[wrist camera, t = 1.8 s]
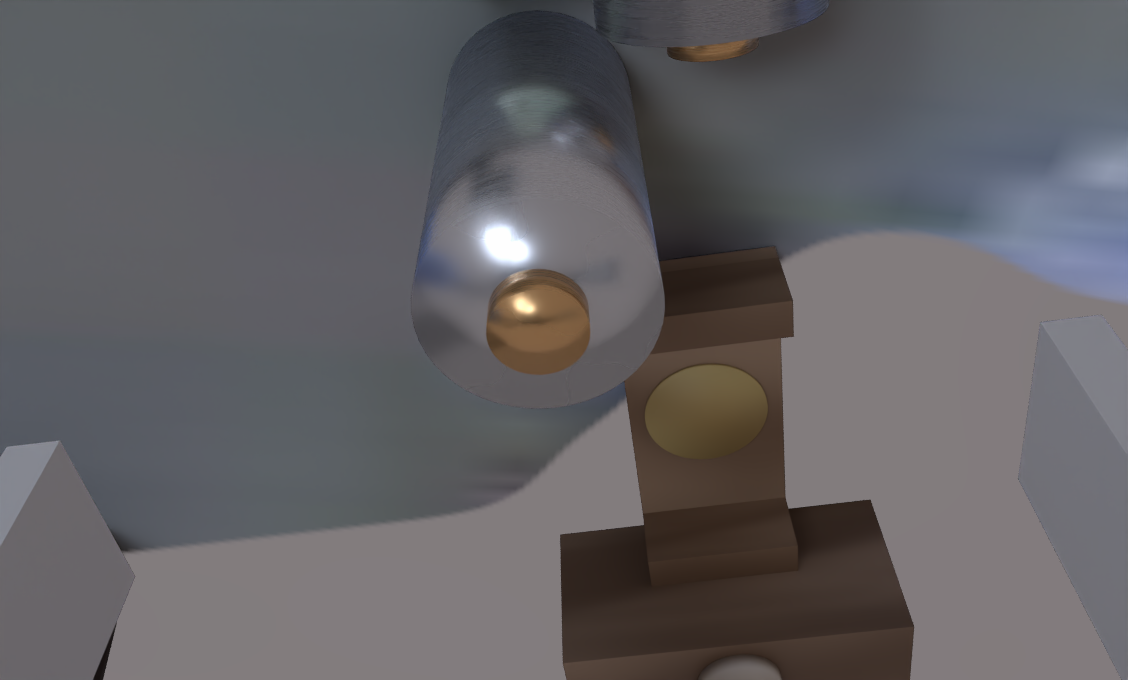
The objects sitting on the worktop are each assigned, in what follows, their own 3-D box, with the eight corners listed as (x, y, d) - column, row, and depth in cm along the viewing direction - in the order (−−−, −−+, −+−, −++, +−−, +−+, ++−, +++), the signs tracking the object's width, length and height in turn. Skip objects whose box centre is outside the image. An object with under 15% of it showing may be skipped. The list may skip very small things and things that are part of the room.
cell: (428, 25, 22) (378, 240, 15) (619, -3, 22) (655, 203, 15) (466, 193, 25) (437, 445, 18) (639, 170, 24) (678, 416, 17)
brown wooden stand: (506, 281, 26) (501, 412, 22) (880, 232, 25) (942, 358, 22) (574, 601, 33) (578, 743, 29) (867, 569, 33) (912, 710, 29)
